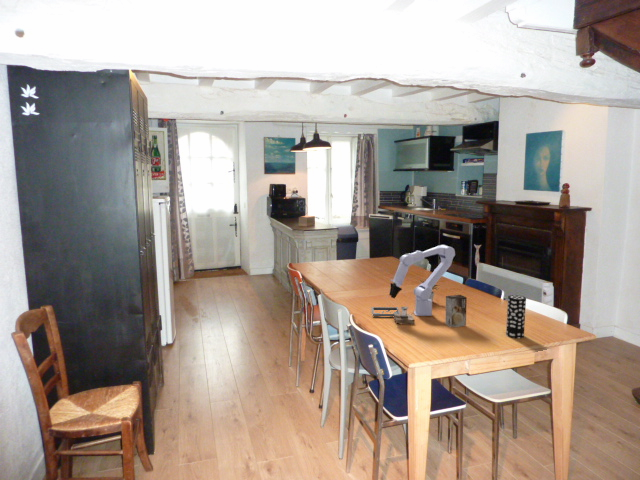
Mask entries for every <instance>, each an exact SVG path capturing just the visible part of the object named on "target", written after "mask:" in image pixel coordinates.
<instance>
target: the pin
mask: <svg viewBox="0 0 640 480" xmlns="http://www.w3.org/2000/svg"><path fill="white" fill-rule="evenodd" d="M408 309H409V307H408V306H401V307H400V310H401V314H402V317H401V318H407V314H408Z"/></svg>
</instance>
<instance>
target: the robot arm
mask: <svg viewBox="0 0 640 480" xmlns="http://www.w3.org/2000/svg"><path fill="white" fill-rule="evenodd" d="M435 255H439V257H440V261H441V262H440V263H439V264H438V266H436V268H435V269H434V271H433V272H432V273H430V275H429V277H428V278H426V280H424V281H423V283H422V282H421V283H420V284H419V285H418V286H416V287H415V288H414V289H413V294H414V296H415V303H414V304H415V309H414V311H413V313H414V315H415V316H416V317H417V316H418V317H419V316H420V317H421V316H422V317H424V316H426V317H427V316H429V317H431V316H433V302H432V300H431V299H429V297H430V294H431V293H432V291H433V290H432V288H433V286H434V285H437V283H438V282H439V280H440V279H441V278H442V277H443V275H444V274H445V273H446V272H447V270H449V268H450V267H451V266H452V263H453V259H454V257H455V256H456V251H455V248H453V247H452V246H448V245H446V244H440V245H437V246H435V247H431V248H429V249H426V250H424V251H421V250H415V251H414V252H411V253H410V252H409V253H408V254H403V255H401V256H400V257H399V264H398V267H397V270H396V271H395V274H394V276H393V279H392V278H391V279H390V281H391V282H390V290H389V296H390V298H392V299H396V297H397V296H398V294H399V293H400V292H401V291H402V290H403V288H402V287H401V286H403V285H404V281H405V278H406V276H407V273H408V271H409V268H410V267H411V266H412V265H413V264H415V263H418V262H421V261H424V259H425V258H427V257H431V256H435ZM392 282H393V283H392Z"/></svg>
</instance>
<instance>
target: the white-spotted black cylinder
mask: <svg viewBox="0 0 640 480" xmlns="http://www.w3.org/2000/svg"><path fill="white" fill-rule="evenodd" d="M526 302H527V297H525V296H523V295H517V294H511V295H508V296H507V311H506V313H507V314H506V332H505V335H506V336H507V337H508V338H511V339H523V338H525V323H526V322H525V321H526V306H527V303H526Z"/></svg>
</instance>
